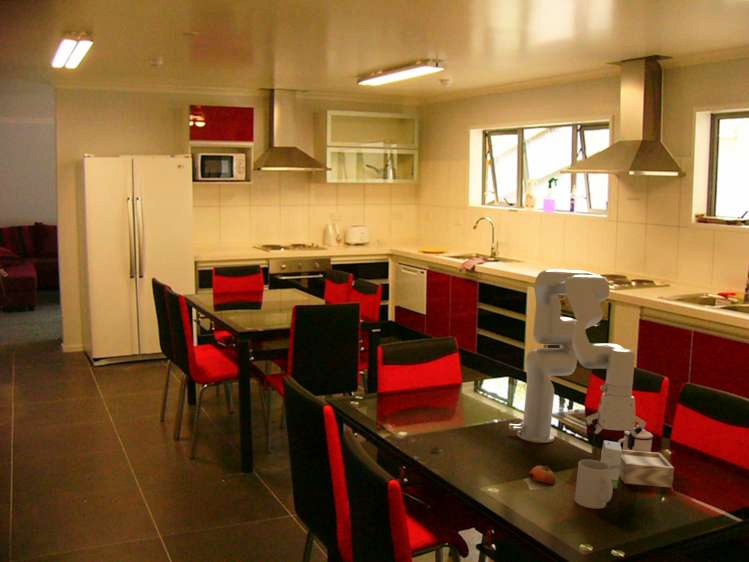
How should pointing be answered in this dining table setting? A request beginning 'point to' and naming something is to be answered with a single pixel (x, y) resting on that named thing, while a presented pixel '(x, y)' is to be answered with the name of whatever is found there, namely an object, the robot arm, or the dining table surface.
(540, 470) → the tomato
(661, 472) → the tray
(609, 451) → the ink box
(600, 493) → the mug
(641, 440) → the teacup with lid
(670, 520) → the dining table surface
